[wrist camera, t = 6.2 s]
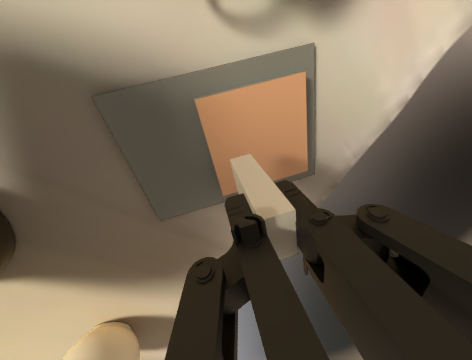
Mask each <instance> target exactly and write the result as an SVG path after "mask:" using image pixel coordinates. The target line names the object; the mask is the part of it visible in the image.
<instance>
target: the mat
mask: <svg viewBox="0 0 472 360" xmlns="http://www.w3.org/2000/svg"><path fill="white" fill-rule="evenodd" d="M295 72H306V109H307V155H308V171H305V172H302V173H299V174H296V175H292V176H289V177H286V178H282V179H279V180H276V181H273V182H274V183H276V182H280V181H283V180H287V181H289V182H291V181H294V180H297V179H301V178H304V177H307V176H311V175H314V174H315V90H314V43H311V44H307V45H303V46H299V47H294V48H290V49H286V50H282V51H278V52H274V53H270V54H266V55H261V56H257V57H253V58H249V59H245V60H241V61H237V62H233V63H228V64H224V65H220V66H216V67H212V68H208V69H204V70H200V71H195V72H191V73H187V74H183V75H179V76H175V77H171V78H166V79H162V80H158V81H154V82H150V83H146V84H142V85H138V86H133V87H129V88H125V89H121V90H117V91H113V92H109V93H105V94H100V95H96V96H92V99H93V100H94V102H95V104H96V106H97V108H98V110H99V111H100V113H101V115H102V117H103V119H104V120H105V122H106V124H107V126H108V128H109V129H110V131H111V133H112V135H113V137H114V139H115V140H116V142H117V144H118V146H119V148H120V149H121V151H122V153H123V155H124V157H125V159H126V160H127V162H128V164H129V166H130V168H131V169H132V171H133V173H134V175H135V177H136V178H137V180H138V182H139V184H140V186H141V188H142V189H143V191H144V193H145V195H146V197H147V198H148V200H149V202H150V204H151V206H152V207H153V209H154V211H155V213H156V215H157V217H158V218H159V220H160V221H162V220H165V219H169V218H172V217H175V216H179V215H182V214H185V213H189V212H192V211H195V210H198V209H202V208H205V207H208V206H212V205H215V204H218V203H222V202H225V201H226V199H227V198H229V197H232V196H235V195H239V194H238V192H236V193H232V194H229V195H226V196H223V194H222V190H221V187H220V184H219V180H218V177H217V174H216V170H215V167H214V164H213V160H212V157H211V154H210V150H209V147H208V144H207V140H206V137H205V134H204V130H203V127H202V124H201V120H200V117H199V114H198V110H197V107H196V104H195V100H194V98H197V97H201V96H204V95H208V94H212V93H216V92H220V91H224V90H228V89H232V88H236V87H240V86H244V85H248V84H252V83H256V82H260V81H264V80H267V79H271V78H275V77H279V76H283V75H287V74H291V73H295Z"/></svg>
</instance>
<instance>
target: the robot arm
mask: <svg viewBox="0 0 472 360" xmlns="http://www.w3.org/2000/svg"><path fill="white" fill-rule="evenodd" d="M230 163H231V167H232V171H233V175H234V179H235V183H236V187H237V191H238V194H239V195H235V196H232V197H229V198H227V199H226V202H225V208H226V211H227V215H228V219H229V222H230V226H231V233H232V236H233V239H234V241H233V245H232V247H231V248H230V250H229V251H228V252H227V253H226V254H224V255H223V256H221V257H220V258H218V259H215V258H213V257H206V258H203V259H200V260H198V261H197V262H195V263H194V264H193V265H192V267H191V268H190V269H189V271H188V273H187V276H186V280H185V284H184V288H183V291H182V295H181V299H180V303H179V307H178V311H177V314H176V318H175V322H174V326H173V330H172V334H171V338H170V341H169V345H168V349H167V353H166V357H165V360H237V338H238V336H237V334H238V309H239V308H241V307H242V306H243V305H244V304H246V303H247V302H248V301H249V300H251V303H252V307H253V310H254V314H255V318H256V322H257V325H258V329H259V332H260V336H261V340H262V343H263V347H264V350H265V354H266V358H267V360H329V358H328V356H327V354H326V352H325V350H324V348H323V346H322V344H321V342H320V340H319V338H318V336H317V334H316V332H315V330H314V328H313V326H312V324H311V322H310V320H309V318H308V316H307V314H306V312H305V310H304V308H303V306H302V304H301V302H300V300H299V298H298V296H297V294H296V292H295V290H294V288H293V286H292V284H291V282H290V280H289V278H288V276H287V274H286V272H285V270H284V268H283V266H282V264H281V262H280V260H283V259H286V258H288V257H291V256H294V255H297V254H298V247H299V249H300V250H301V252H302V253H303V262H304V272H305V275H307V274H308V270H309V272H310V273H311V275H312V276H313V278H314V280H315V281H316V283H317V284H318V286H319V288H320V289H321V291H322V293H323V294H324V296H325V298H326V299H327V301H328V302H329V304H330V306H331V307H332V309H333V310H334V312H335V314H336V315H337V317H338V318H339V320H340V322H341V324H342V325H343V327H344V328H345V330H346V332H347V333H348V335H349V336H350V338H351V340H352V341H353V343H354V344H355V346H356V348H357V350H358V351H359V353H360V354H361V356H362V358H363V359H364V360H472V246H471V245H469V244H466V243H464V242H462V241H460V240H458V239H456V238H453V237H451V236H449V235H447V234H445V233H442V232H440V231H438V230H436V229H434V228H432V227H429V226H427V225H425V224H423V223H421V222H418V221H416V220H414V219H412V218H410V217H408V216H405V215H403V214H401V213H399V212H397V211H395V210H392V209H390V208H388V207H385V206H382V205H376V204H368V205H363V206H361V207H360V208H359V209H358V210H357V215H349V216H348V215H347V216H335V215H334V214H332V213H331V212H330V211H327V210H325V209H319V208H317V207H316V206H315V205H314V204H313V203H312V202H311V201H310V200H309V199H308V198H307V197H306V196H305V195H304V194H303V193H302V192H301V191H300V190H299V189H298V188H297V187H296V186H295V185H294V184H293V183H291V182H289V181H287V180H283V181H280V182H276V183H274V182H273V181H272V180H271V179H270V177H269V176H268V175H267V174H266V172H265V171H264V170H263V169H262V167H261V166H260V165H259V164H258V163H257V161H256V160H255V159H254V158H253V156H252V155H251V154H247V155H244V156H240V157H237V158H233V159H230ZM14 247H15V239H14V235H13V232H12V229H11V227H10V225H9V224H8V222H7V220H6V219H5V218H4V216H3V215H2V214H1V213H0V269H1V268H2V267H3V266H4V265H5V264H6V263H7V262H8V261H9V259H10V258H11V256H12V254H13V252H14ZM391 250H393V251H395V252H396V253H398V254H399V255H397V254H394V253H392V252H390V251H391Z"/></svg>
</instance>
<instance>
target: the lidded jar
mask: <svg viewBox="0 0 472 360" xmlns="http://www.w3.org/2000/svg"><path fill="white" fill-rule="evenodd" d="M63 360H140V349H139V343H138V340H137V337H136V336H135V334H134V333H133V332H132V328H131V327H130V326H129V325H128V324H125V323H122V322H106V323H102V324H99V325H97V326H95V327H94V328H93V329H92V330H91V331H90V332H88V333H87V334H85V335H84V336H83V337H81V338H80V339H79V340H78V341H77V342H76V343H75V344H74V345H73V346H72V347H71V348H70V350H69V351H68V352H67V354H66V355H65V357H64V358H63Z"/></svg>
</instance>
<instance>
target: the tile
mask: <svg viewBox="0 0 472 360" xmlns="http://www.w3.org/2000/svg"><path fill="white" fill-rule="evenodd" d="M194 100H195V104H196V107H197V110H198V114H199V117H200V120H201V124H202V127H203V130H204V134H205V137H206V140H207V144H208V147H209V150H210V154H211V157H212V160H213V164H214V167H215V170H216V174H217V177H218V180H219V184H220V187H221V190H222V194H223V196H226V195H229V194H232V193H236V192H238V191H237V187H236V183H235V179H234V175H233V171H232V167H231V163H230V159H233V158H237V157H240V156H244V155H247V154H251V155H252V156H253V158H254V159H255V160H256V161H257V163H258V164H259V165H260V166H261V167H262V169H263V170H264V171H265V172H266V174H267V175H268V176H269V177H270V179H271V180H272V181H276V180H279V179H282V178H286V177H289V176H292V175H296V174H299V173H302V172H305V171H308V155H307V109H306V72H295V73H291V74H287V75H283V76H279V77H275V78H271V79H267V80H264V81H260V82H256V83H252V84H248V85H244V86H240V87H236V88H232V89H228V90H224V91H220V92H216V93H212V94H208V95H204V96H201V97H197V98H194Z"/></svg>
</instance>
